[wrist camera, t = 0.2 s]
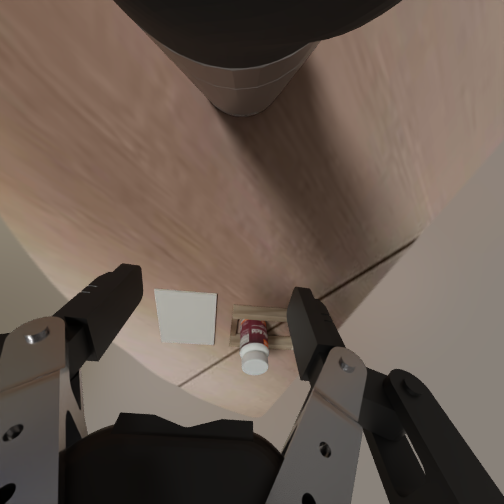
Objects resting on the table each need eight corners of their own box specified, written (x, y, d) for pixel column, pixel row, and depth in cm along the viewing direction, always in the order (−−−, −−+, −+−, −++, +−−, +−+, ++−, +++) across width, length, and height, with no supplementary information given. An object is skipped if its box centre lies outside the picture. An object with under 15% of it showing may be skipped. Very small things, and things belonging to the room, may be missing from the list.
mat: (154, 288, 33) (154, 289, 32) (216, 293, 34) (216, 294, 33) (161, 340, 39) (161, 342, 39) (213, 343, 40) (213, 344, 40)
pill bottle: (271, 320, 37) (277, 365, 30) (255, 334, 39) (258, 380, 32) (250, 310, 36) (252, 354, 28) (235, 325, 38) (233, 370, 30)
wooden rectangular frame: (233, 304, 35) (233, 313, 33) (306, 309, 36) (309, 318, 34) (229, 337, 39) (229, 346, 37) (294, 341, 40) (297, 350, 38)
